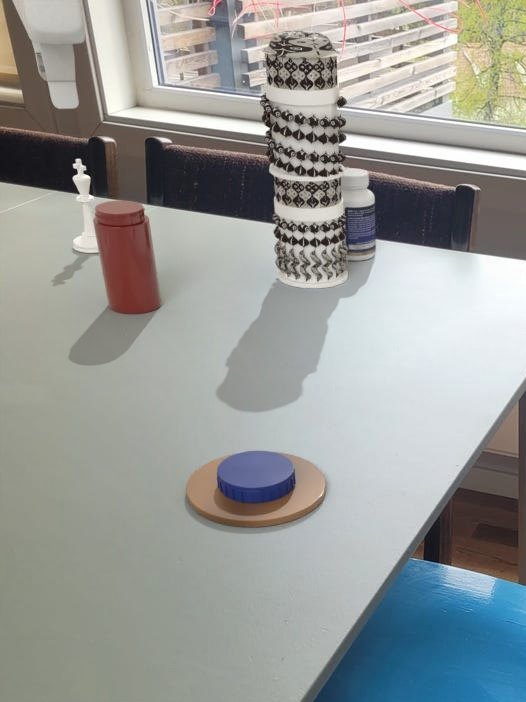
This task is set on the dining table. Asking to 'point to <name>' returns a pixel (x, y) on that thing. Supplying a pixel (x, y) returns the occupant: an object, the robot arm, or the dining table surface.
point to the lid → (256, 476)
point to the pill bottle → (358, 214)
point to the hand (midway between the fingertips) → (59, 92)
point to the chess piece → (85, 212)
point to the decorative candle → (305, 158)
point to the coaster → (235, 513)
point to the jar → (127, 257)
